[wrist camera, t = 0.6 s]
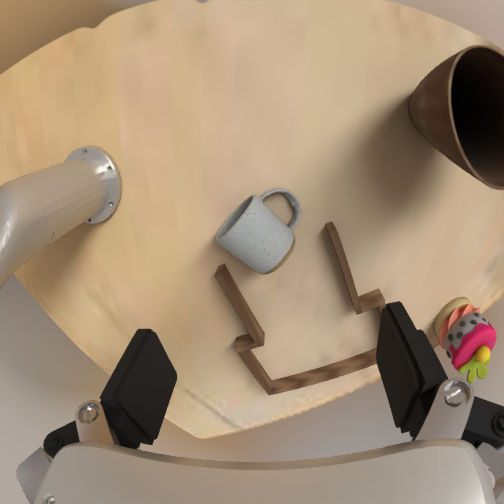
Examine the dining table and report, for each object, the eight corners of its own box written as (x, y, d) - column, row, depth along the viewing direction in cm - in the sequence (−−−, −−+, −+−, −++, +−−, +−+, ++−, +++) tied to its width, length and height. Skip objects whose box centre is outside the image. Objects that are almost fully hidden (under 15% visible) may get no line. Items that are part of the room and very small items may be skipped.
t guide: (269, 384, 54) (268, 395, 51) (196, 274, 43) (191, 284, 41) (390, 346, 47) (394, 356, 45) (357, 211, 37) (363, 218, 34)
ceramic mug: (262, 262, 42) (260, 290, 35) (219, 227, 40) (208, 249, 33) (313, 211, 38) (323, 230, 31) (269, 171, 36) (269, 181, 29)
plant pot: (438, 182, 34) (506, 218, 19) (365, 119, 31) (424, 119, 17) (476, 111, 28) (548, 120, 13) (410, 45, 25) (475, 17, 11)
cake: (429, 312, 44) (463, 368, 30) (471, 286, 41) (511, 333, 27) (435, 344, 47) (461, 396, 34) (473, 320, 44) (504, 367, 31)
